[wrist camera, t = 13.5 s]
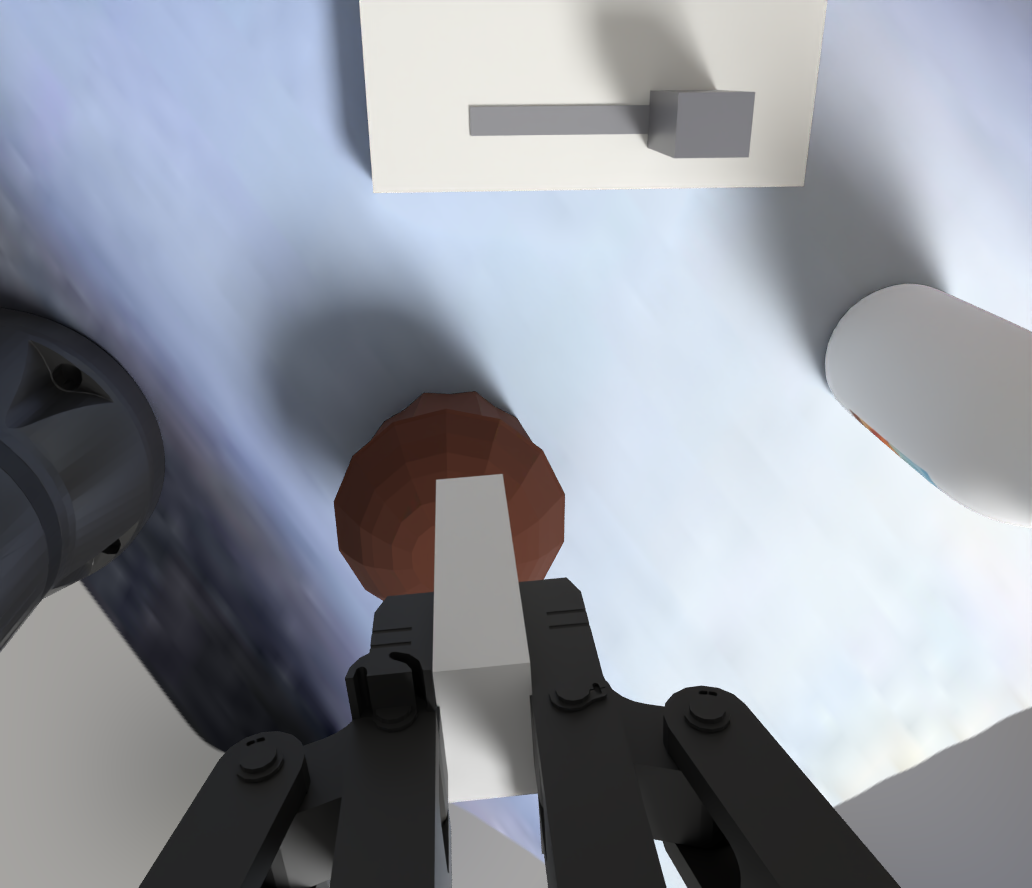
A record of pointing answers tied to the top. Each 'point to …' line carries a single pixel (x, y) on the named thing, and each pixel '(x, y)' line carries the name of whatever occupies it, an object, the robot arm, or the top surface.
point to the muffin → (412, 491)
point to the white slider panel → (589, 93)
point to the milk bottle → (942, 393)
